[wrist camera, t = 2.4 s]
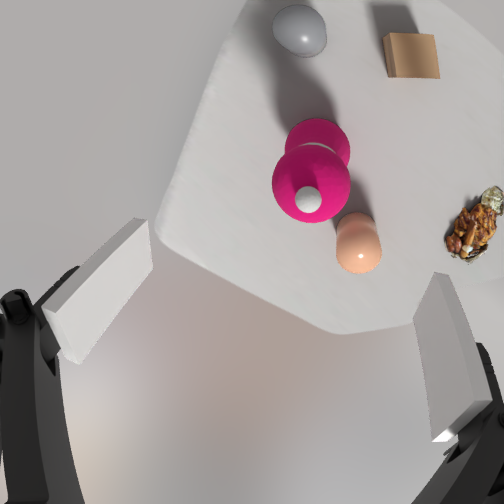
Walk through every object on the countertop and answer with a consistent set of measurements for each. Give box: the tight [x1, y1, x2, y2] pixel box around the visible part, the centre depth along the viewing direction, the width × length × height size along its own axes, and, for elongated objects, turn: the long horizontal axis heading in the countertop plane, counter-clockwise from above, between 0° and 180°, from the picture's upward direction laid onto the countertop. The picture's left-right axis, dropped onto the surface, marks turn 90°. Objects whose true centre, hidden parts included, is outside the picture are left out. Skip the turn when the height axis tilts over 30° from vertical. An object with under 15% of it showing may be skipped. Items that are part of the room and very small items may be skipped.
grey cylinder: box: [272, 5, 327, 58], centre depth 26 cm, size 5×5×8 cm
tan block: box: [382, 33, 440, 79], centre depth 26 cm, size 5×5×5 cm
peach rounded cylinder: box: [336, 212, 382, 273], centre depth 39 cm, size 6×6×6 cm
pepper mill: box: [272, 119, 351, 223], centre depth 28 cm, size 7×7×20 cm
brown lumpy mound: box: [445, 186, 504, 265], centre depth 34 cm, size 7×12×4 cm, turn 163°
